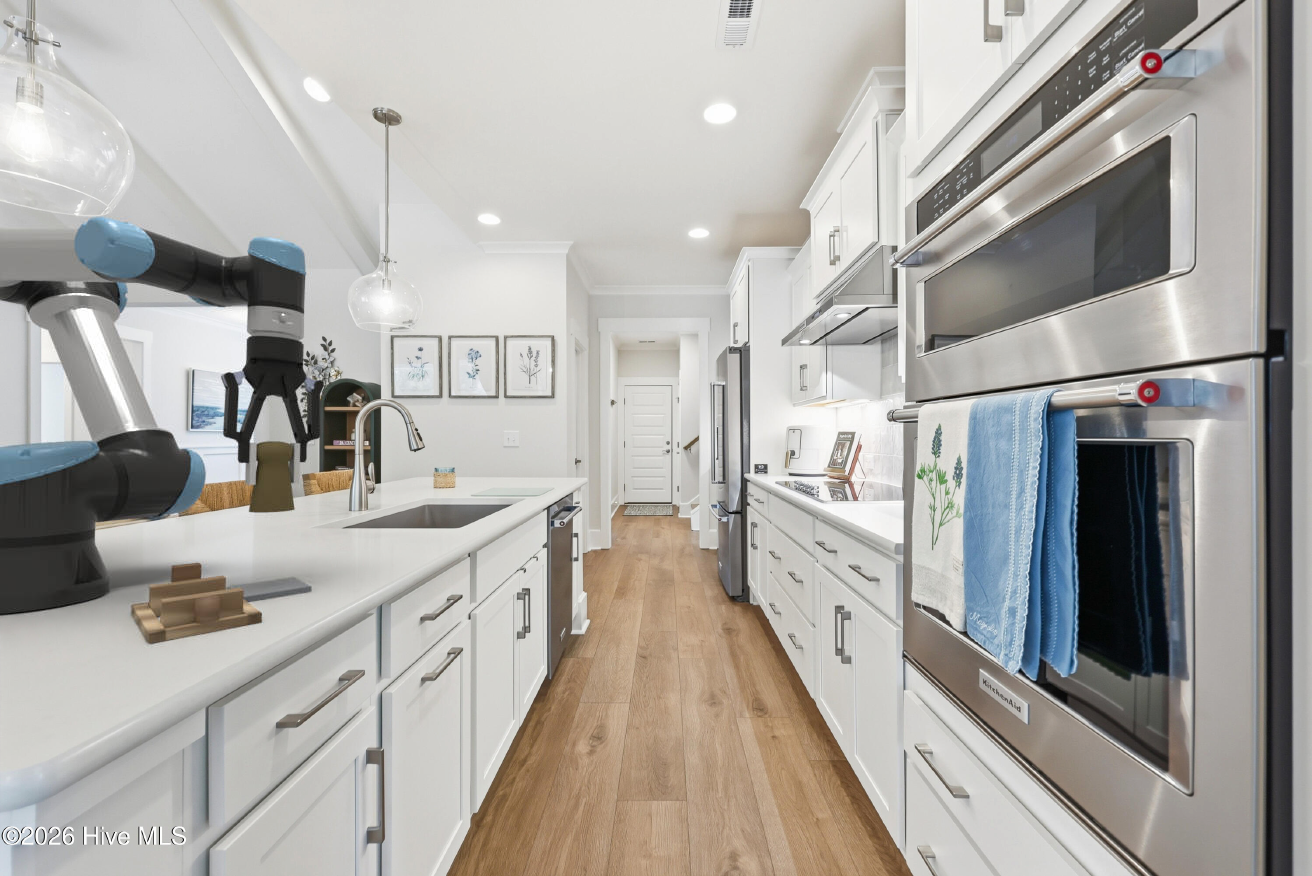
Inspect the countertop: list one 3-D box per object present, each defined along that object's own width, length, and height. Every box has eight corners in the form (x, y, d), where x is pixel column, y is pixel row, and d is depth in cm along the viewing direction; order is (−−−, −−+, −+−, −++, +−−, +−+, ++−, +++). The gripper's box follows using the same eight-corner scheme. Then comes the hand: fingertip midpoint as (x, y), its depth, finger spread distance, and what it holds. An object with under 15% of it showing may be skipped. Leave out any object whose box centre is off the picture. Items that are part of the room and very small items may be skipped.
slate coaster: (227, 591, 87) (228, 586, 87) (293, 581, 94) (293, 576, 94) (242, 602, 81) (242, 597, 81) (311, 591, 88) (311, 586, 88)
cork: (271, 513, 84) (272, 441, 84) (238, 511, 85) (240, 440, 85) (304, 508, 90) (305, 441, 90) (273, 507, 91) (274, 441, 91)
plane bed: (131, 613, 75) (132, 569, 75) (230, 597, 84) (231, 558, 84) (148, 643, 64) (150, 592, 64) (261, 622, 72) (262, 576, 72)
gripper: (208, 325, 79) (204, 487, 78) (346, 344, 92) (343, 482, 92) (198, 332, 84) (194, 484, 83) (330, 349, 97) (327, 480, 97)
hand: (272, 483), depth 88 cm, fingers closed on cork, 5 cm apart
